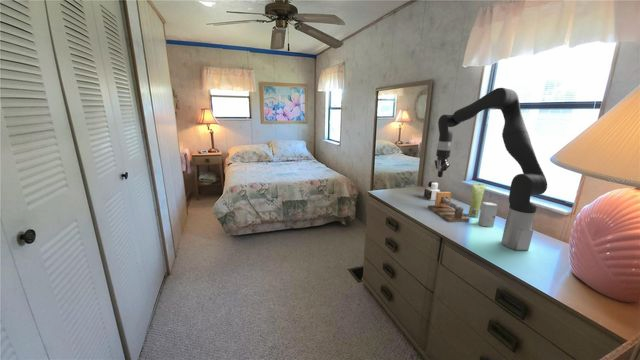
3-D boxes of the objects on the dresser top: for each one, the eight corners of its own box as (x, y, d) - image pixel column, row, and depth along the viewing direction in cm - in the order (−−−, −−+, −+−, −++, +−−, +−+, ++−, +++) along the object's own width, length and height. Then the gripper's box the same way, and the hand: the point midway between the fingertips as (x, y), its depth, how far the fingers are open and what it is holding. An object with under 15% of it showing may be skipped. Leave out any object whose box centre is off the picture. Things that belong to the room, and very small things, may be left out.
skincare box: (481, 226, 136) (485, 204, 133) (477, 222, 140) (481, 201, 137) (493, 227, 136) (498, 205, 133) (489, 223, 140) (493, 202, 137)
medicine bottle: (423, 197, 182) (425, 181, 179) (431, 196, 184) (434, 180, 181) (430, 200, 175) (432, 183, 172) (438, 199, 177) (441, 183, 174)
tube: (470, 213, 154) (476, 182, 149) (479, 216, 150) (486, 184, 145) (466, 215, 150) (472, 183, 145) (476, 218, 146) (482, 185, 142)
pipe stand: (469, 221, 142) (471, 206, 140) (448, 221, 141) (451, 207, 138) (445, 207, 163) (447, 194, 161) (427, 207, 162) (429, 194, 160)
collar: (449, 206, 156) (451, 192, 154) (436, 206, 155) (438, 193, 153) (446, 204, 159) (448, 191, 156) (434, 205, 158) (436, 191, 155)
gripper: (456, 150, 149) (451, 179, 153) (443, 147, 161) (439, 174, 166) (444, 150, 148) (440, 179, 152) (432, 147, 161) (428, 174, 165)
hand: (439, 176), depth 159 cm, fingers closed
